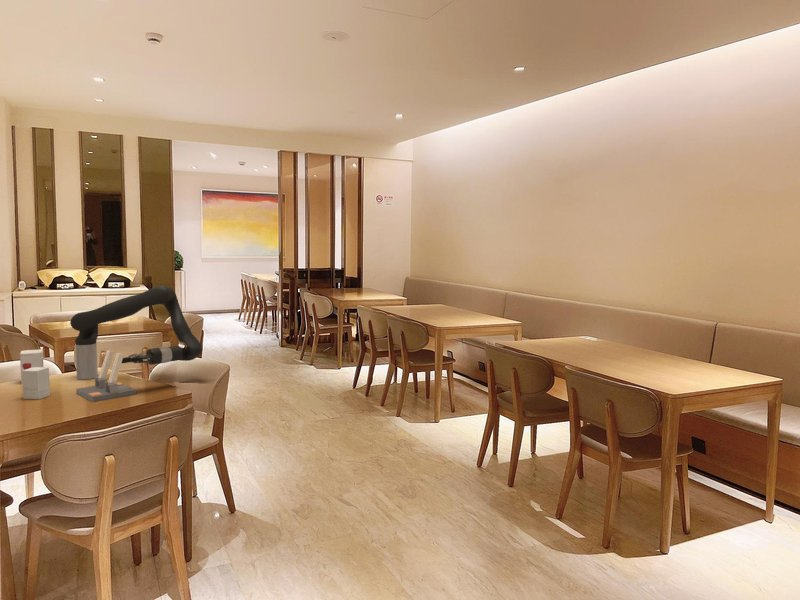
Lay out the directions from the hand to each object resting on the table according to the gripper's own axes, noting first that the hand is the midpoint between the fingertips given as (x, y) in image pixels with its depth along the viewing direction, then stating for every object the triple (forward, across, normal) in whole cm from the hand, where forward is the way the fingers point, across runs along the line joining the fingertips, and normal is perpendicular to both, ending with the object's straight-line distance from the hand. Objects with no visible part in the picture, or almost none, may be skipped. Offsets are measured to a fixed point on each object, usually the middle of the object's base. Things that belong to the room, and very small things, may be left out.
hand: (120, 360), depth 244 cm
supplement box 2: (+27, -21, +16) cm, 38 cm away
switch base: (+4, -6, +15) cm, 17 cm away
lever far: (+5, -12, +11) cm, 17 cm away
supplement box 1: (+20, -55, +16) cm, 61 cm away
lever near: (+5, 0, +11) cm, 12 cm away
